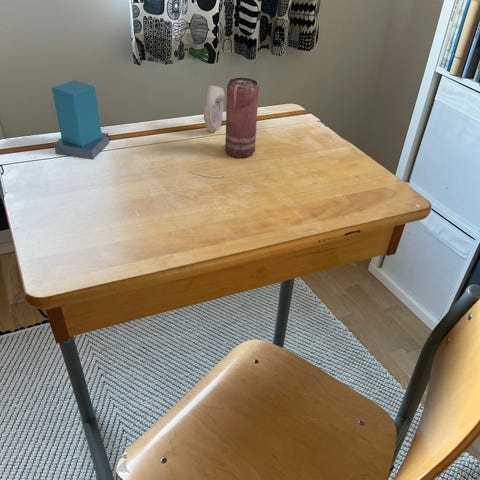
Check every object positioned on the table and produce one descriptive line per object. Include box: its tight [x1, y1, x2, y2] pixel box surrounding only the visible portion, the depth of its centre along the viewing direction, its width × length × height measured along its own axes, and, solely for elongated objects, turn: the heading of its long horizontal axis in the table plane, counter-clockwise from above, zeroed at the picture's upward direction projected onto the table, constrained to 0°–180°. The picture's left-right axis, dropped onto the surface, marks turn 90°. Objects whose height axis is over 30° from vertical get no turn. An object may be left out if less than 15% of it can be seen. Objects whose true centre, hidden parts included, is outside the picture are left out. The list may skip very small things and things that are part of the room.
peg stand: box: [53, 132, 110, 160], centre depth 101 cm, size 8×8×10 cm
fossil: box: [203, 84, 226, 133], centre depth 110 cm, size 6×4×10 cm, turn 147°
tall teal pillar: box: [51, 79, 103, 147], centre depth 100 cm, size 6×6×10 cm
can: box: [224, 77, 260, 159], centre depth 101 cm, size 6×6×14 cm
